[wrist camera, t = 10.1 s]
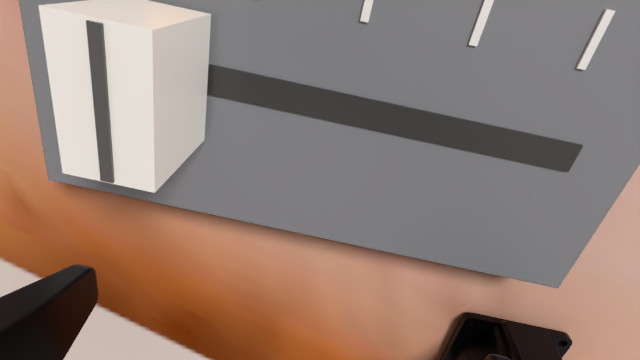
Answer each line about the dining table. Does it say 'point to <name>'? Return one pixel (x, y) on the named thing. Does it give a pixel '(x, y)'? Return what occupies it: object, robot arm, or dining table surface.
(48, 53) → the fader knob
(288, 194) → the fader console
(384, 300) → the dining table surface
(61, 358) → the robot arm
